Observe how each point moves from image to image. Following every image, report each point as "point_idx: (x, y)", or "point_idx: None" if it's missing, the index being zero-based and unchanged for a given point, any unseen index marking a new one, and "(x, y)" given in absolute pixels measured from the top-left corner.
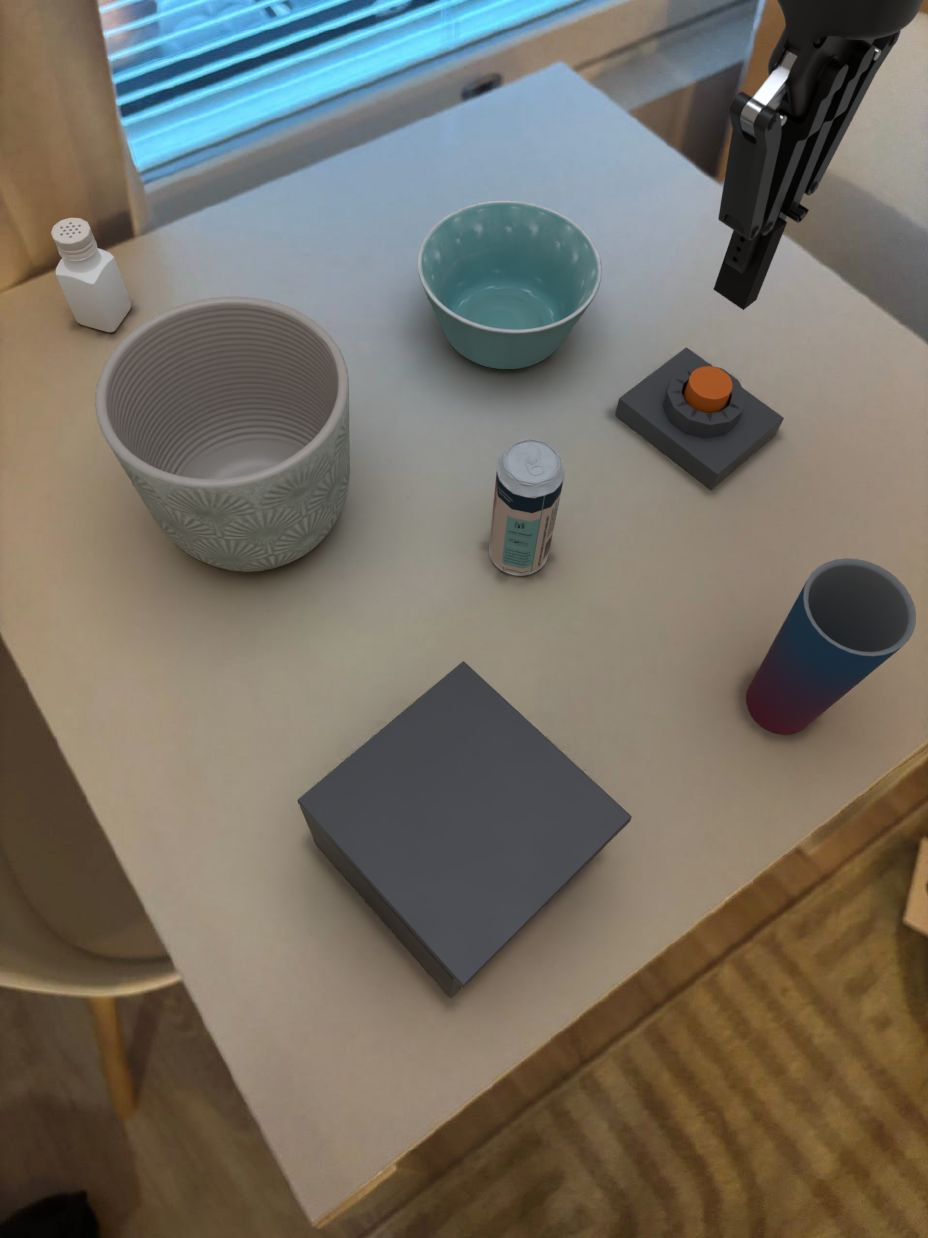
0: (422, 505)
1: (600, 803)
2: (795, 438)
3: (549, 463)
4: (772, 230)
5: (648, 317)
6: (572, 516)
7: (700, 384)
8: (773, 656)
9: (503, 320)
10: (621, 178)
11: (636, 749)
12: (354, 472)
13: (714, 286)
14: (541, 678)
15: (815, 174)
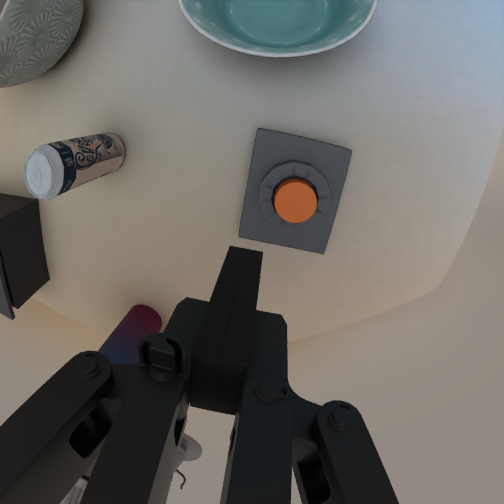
0: (100, 80)
1: (6, 308)
2: (325, 258)
3: (44, 186)
4: (194, 404)
5: (378, 101)
6: (153, 160)
7: (287, 196)
8: (107, 339)
9: (281, 3)
10: (480, 40)
11: (82, 273)
12: (97, 34)
13: (229, 248)
14: (70, 217)
15: (297, 482)
